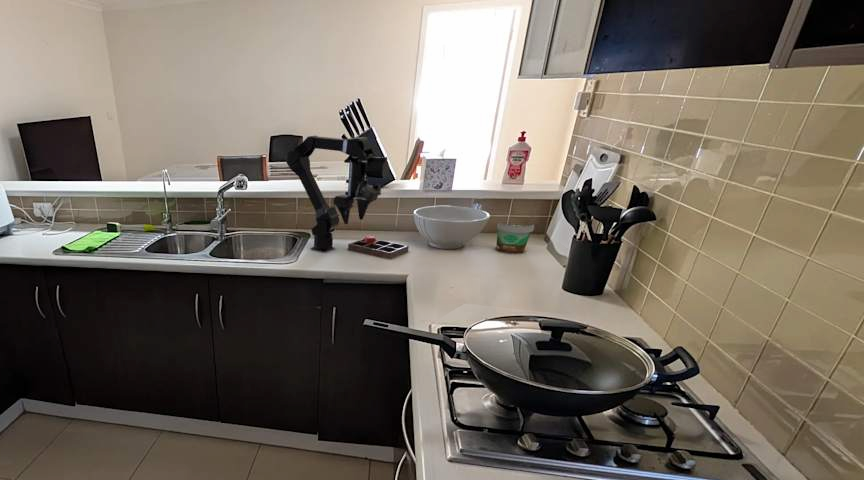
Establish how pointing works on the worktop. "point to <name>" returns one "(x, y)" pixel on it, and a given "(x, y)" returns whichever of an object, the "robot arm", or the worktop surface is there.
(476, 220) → the decorative bowl
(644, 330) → the worktop surface
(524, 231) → the food container
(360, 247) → the grid
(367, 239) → the red short cylinder
